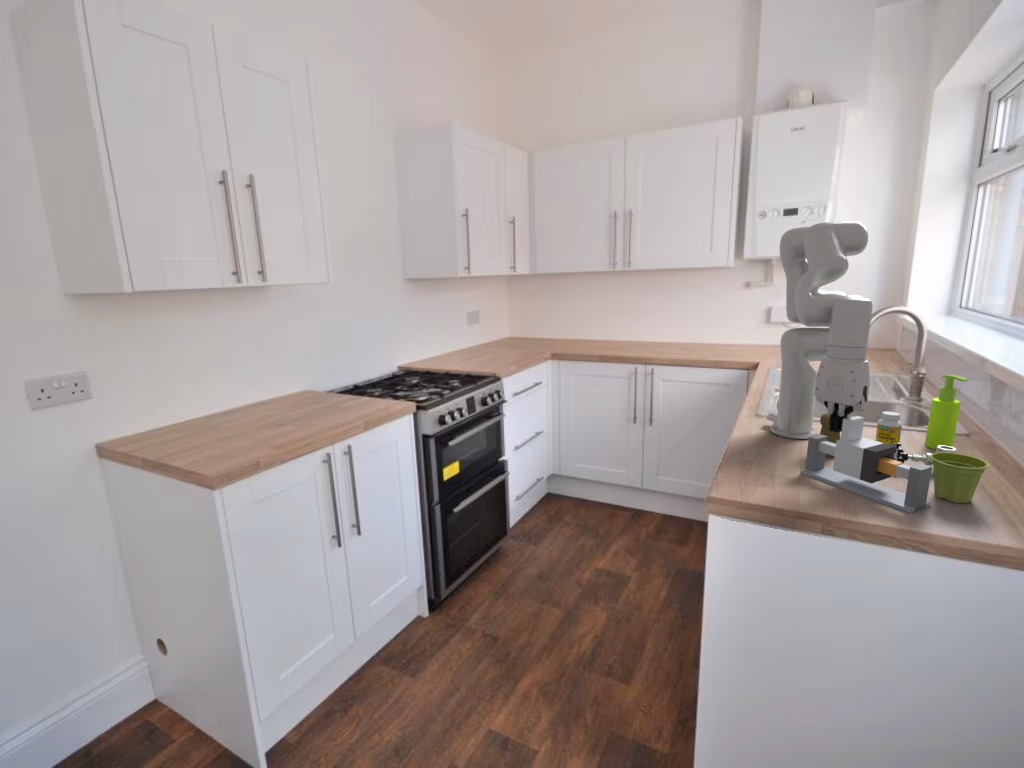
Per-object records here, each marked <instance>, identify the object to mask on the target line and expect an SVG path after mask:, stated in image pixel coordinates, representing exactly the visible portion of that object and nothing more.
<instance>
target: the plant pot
mask: <svg viewBox="0 0 1024 768" xmlns="http://www.w3.org/2000/svg"><path fill="white" fill-rule="evenodd" d="M930 458H931V459H932V463H933V464H932V466H934V473H933V478H934V479H933V481H934V482H933V483H934V485H933V489H934V490H933V491H934V495H935V496H936V497H937V498H939V499H945V500H947V502H951V503H956V504H957V503H958V504H967V503H968V502H972V500H973V498H974V496H975V491H976V489H977V487H978V484H979V482H980V480H981V476H982V475H983V474H984V472H985V470H986V469H988V468H989V463H988V462H987V461H985V460H983V459H980V458H978V457H974V456H972V455H968V454H962V453H957V452H956V453H947V452H938V453H936V452H933V453H931V455H930Z"/></svg>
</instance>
